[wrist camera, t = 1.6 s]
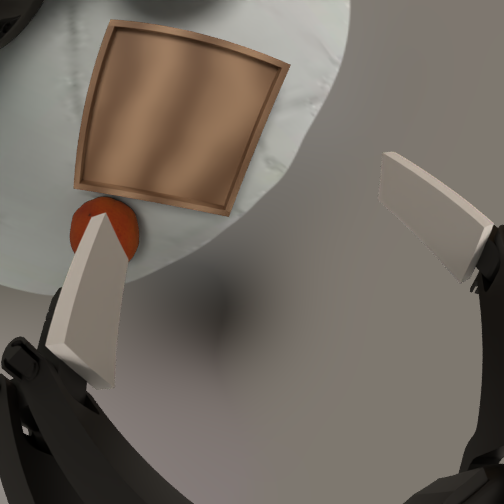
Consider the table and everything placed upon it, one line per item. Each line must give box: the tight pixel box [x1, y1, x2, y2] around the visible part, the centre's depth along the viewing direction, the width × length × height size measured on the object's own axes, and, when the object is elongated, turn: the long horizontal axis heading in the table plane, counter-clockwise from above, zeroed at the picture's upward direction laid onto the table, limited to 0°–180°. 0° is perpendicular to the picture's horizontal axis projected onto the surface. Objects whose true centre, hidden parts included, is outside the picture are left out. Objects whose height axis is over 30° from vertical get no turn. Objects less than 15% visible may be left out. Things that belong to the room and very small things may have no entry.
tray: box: [74, 19, 290, 217], centre depth 23 cm, size 16×16×7 cm
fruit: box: [70, 197, 139, 262], centre depth 28 cm, size 9×9×8 cm
